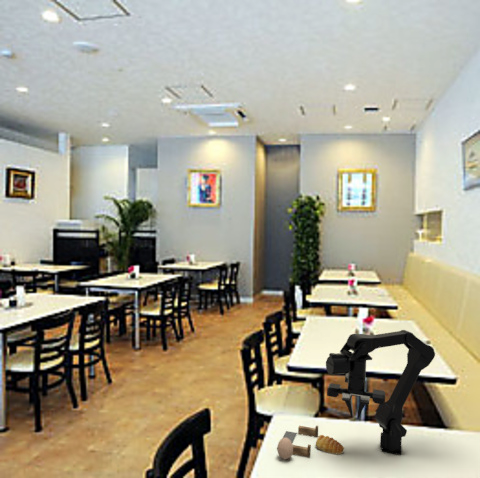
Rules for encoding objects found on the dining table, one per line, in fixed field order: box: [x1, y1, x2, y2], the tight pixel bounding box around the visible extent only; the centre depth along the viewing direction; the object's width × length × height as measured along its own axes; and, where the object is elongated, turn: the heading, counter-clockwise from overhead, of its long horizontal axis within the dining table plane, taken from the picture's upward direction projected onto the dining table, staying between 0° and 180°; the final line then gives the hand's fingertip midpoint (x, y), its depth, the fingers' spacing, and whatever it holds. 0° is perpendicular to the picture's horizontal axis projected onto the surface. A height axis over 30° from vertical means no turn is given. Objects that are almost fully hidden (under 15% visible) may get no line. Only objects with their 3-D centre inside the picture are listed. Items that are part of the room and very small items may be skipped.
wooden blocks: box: [292, 425, 319, 458], centre depth 161 cm, size 7×17×4 cm, turn 161°
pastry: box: [314, 434, 345, 455], centre depth 158 cm, size 9×7×4 cm
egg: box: [276, 437, 294, 460], centre depth 151 cm, size 5×5×7 cm
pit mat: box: [282, 430, 298, 444], centre depth 163 cm, size 4×14×1 cm, turn 161°
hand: (355, 418), depth 155 cm, fingers closed
